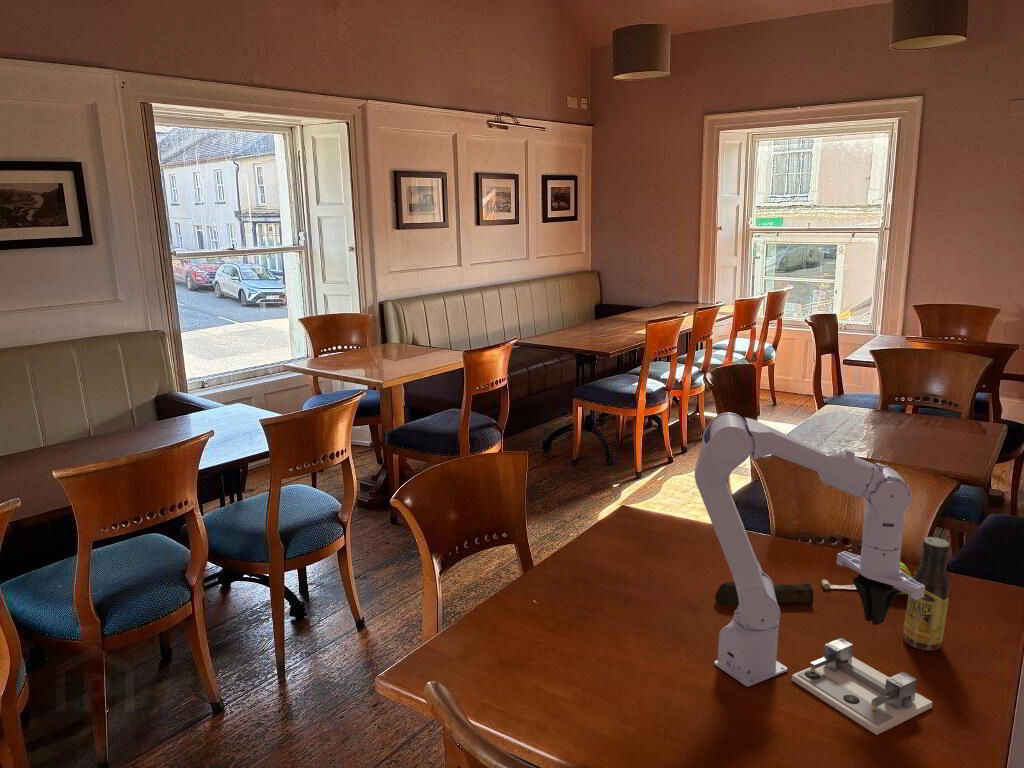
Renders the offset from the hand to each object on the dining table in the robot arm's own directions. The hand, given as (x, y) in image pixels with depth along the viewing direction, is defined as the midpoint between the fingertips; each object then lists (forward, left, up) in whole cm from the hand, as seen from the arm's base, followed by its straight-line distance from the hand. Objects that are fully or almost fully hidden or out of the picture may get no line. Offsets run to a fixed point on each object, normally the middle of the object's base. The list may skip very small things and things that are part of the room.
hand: (874, 620), depth 127 cm
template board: (-5, -2, -10) cm, 12 cm away
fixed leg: (-5, +4, -9) cm, 11 cm away
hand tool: (+4, +27, -11) cm, 29 cm away
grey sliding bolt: (-5, -8, -9) cm, 13 cm away
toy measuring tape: (+27, +20, -11) cm, 35 cm away
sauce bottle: (+17, +2, -11) cm, 20 cm away
